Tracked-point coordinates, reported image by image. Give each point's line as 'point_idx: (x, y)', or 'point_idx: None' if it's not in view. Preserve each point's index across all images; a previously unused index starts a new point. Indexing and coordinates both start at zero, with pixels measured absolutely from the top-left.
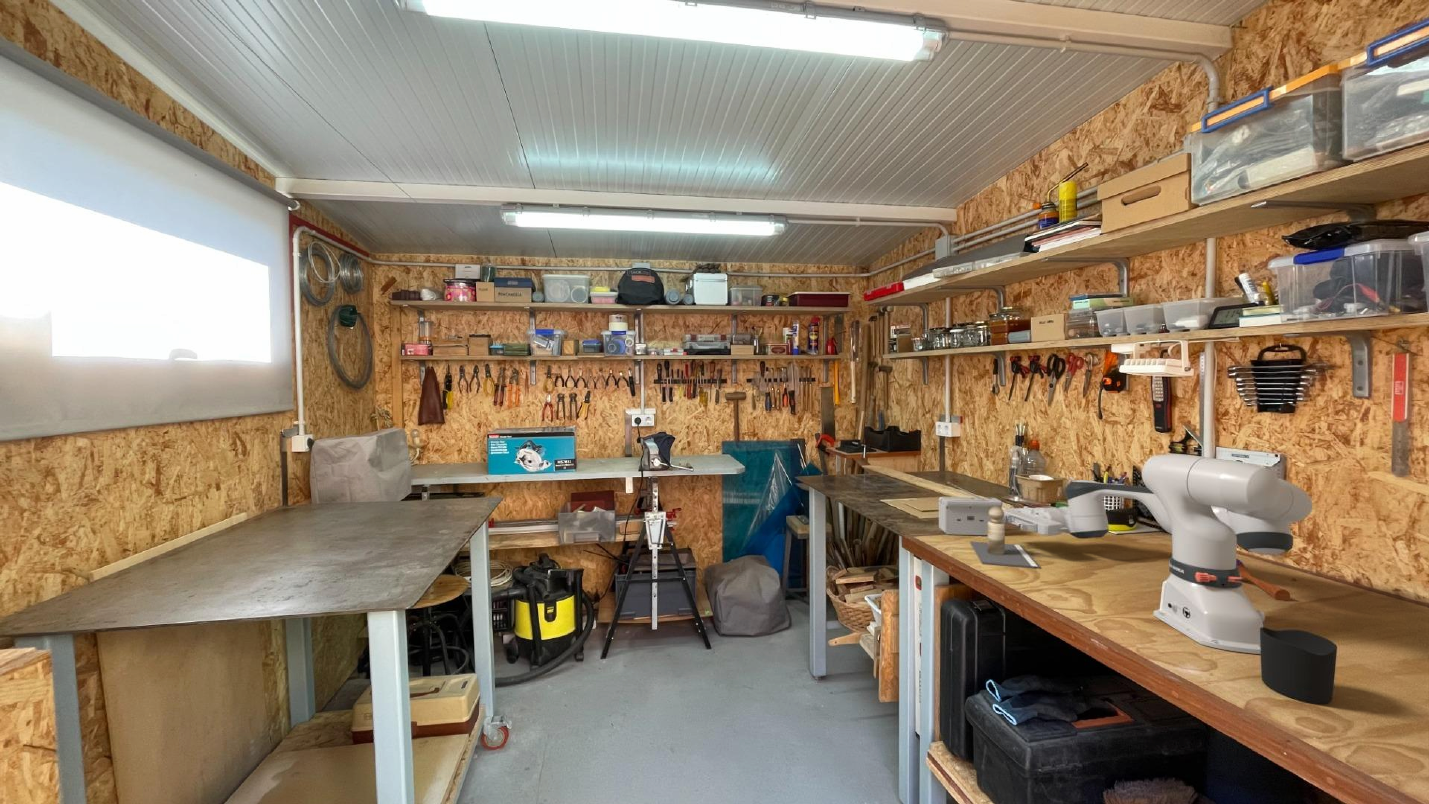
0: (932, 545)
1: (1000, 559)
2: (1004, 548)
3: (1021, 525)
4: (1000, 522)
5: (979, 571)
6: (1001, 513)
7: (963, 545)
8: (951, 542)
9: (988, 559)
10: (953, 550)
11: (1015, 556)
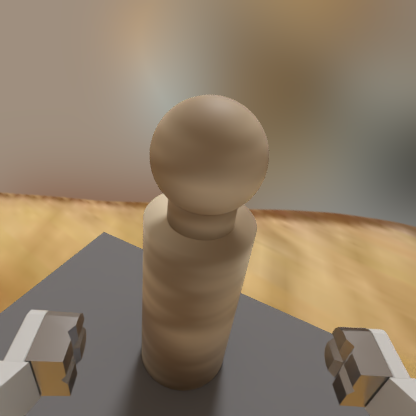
0: (315, 226)
1: (93, 300)
2: (149, 353)
3: (42, 311)
4: (167, 212)
5: (58, 199)
6: (152, 137)
7: (326, 308)
8: (365, 292)
9: (115, 262)
10: (259, 245)
11: (90, 405)
